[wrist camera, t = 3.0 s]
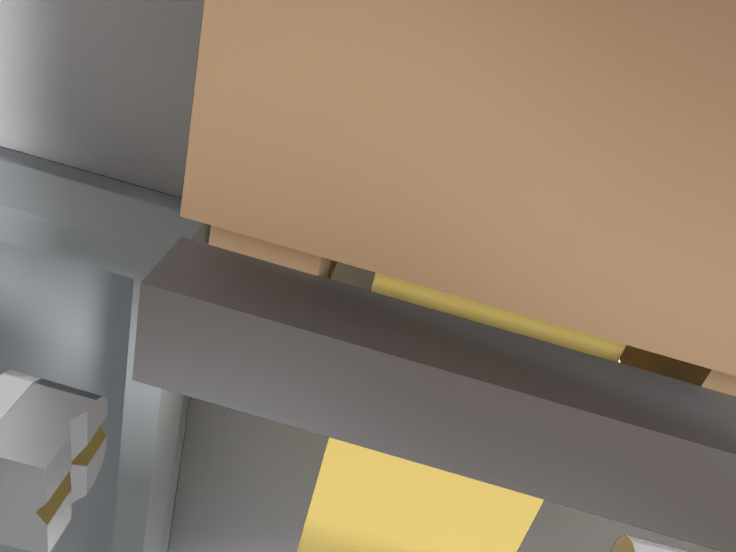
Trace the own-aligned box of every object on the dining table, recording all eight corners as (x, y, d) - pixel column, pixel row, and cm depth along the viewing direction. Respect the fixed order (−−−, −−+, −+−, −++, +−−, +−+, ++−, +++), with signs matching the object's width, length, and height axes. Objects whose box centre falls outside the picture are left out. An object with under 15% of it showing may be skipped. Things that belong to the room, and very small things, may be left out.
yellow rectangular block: (459, 462, 16) (449, 687, 11) (332, 426, 16) (272, 635, 11) (649, 13, 11) (766, 97, 6) (464, -39, 11) (450, 9, 6)
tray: (155, 636, 21) (125, 705, 19) (-84, 566, 21) (-136, 629, 19) (216, 208, 13) (176, 255, 12) (-151, 102, 13) (-245, 134, 12)
